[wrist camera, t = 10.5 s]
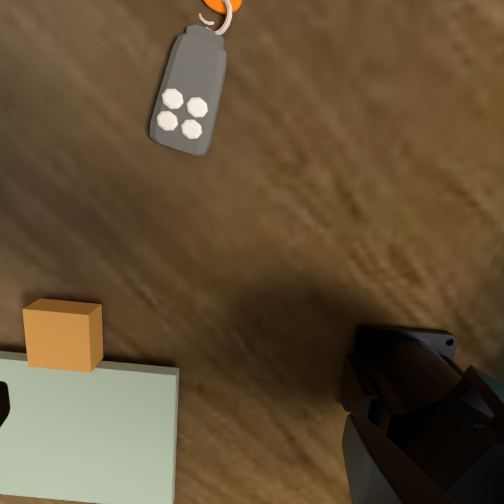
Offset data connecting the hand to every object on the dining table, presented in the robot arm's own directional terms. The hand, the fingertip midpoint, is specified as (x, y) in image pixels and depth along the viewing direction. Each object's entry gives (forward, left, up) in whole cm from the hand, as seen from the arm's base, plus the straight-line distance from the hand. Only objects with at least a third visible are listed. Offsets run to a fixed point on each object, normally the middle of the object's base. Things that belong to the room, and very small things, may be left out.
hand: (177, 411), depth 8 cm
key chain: (+2, -13, -13) cm, 18 cm away
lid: (+10, +11, -12) cm, 19 cm away
